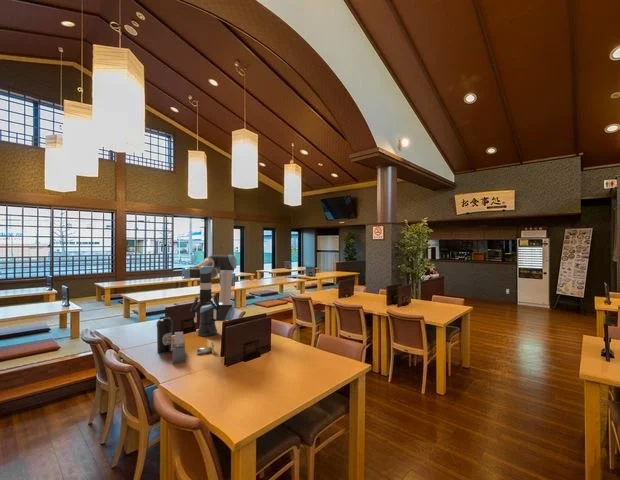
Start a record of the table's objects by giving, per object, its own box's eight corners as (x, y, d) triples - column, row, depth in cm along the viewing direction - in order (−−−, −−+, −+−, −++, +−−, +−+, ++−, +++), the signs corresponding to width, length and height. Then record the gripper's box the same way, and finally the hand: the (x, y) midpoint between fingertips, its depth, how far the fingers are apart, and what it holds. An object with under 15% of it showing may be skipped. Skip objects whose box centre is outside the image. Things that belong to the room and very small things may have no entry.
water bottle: (160, 355, 200) (161, 319, 200) (153, 351, 206) (153, 317, 206) (175, 351, 208) (176, 317, 208) (167, 347, 214) (168, 314, 214)
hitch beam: (172, 352, 205) (172, 336, 205) (183, 351, 208) (183, 335, 208) (172, 364, 185) (172, 346, 185) (184, 362, 188) (185, 345, 188)
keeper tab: (174, 345, 191) (174, 332, 191) (182, 344, 193) (183, 331, 193) (174, 346, 189) (174, 332, 190) (183, 345, 192) (183, 331, 192)
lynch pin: (212, 350, 209) (212, 341, 210) (214, 353, 203) (214, 344, 203) (196, 352, 205) (196, 343, 205) (197, 355, 199) (197, 346, 199)
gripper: (220, 286, 217) (220, 316, 217) (184, 289, 200) (184, 322, 200) (225, 287, 212) (225, 318, 211) (189, 291, 195) (188, 324, 194)
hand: (205, 320), depth 205 cm, fingers open, 13 cm apart
